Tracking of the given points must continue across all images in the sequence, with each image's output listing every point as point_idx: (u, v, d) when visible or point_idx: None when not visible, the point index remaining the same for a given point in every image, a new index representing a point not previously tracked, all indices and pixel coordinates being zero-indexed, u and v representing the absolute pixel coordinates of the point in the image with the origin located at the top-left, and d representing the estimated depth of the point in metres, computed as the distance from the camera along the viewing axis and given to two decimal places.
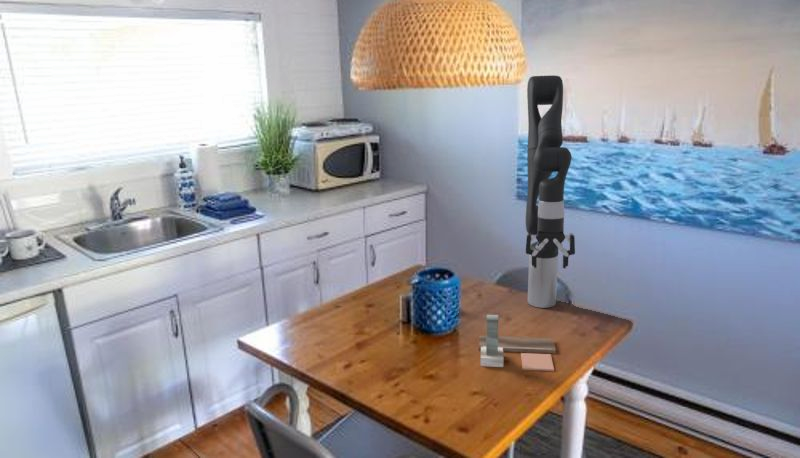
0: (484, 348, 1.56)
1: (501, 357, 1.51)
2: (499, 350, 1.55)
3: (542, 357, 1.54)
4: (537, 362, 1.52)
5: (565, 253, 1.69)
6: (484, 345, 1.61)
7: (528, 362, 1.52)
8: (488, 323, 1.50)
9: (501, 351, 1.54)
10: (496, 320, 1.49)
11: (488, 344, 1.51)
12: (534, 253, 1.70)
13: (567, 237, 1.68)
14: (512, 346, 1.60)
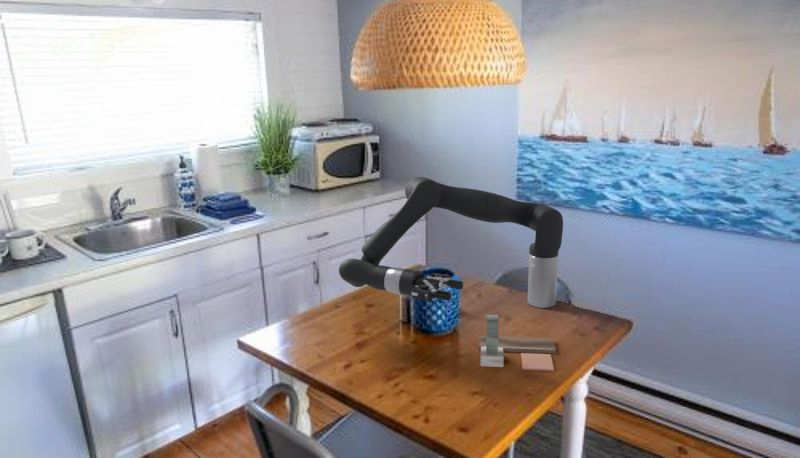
0: (484, 348, 1.56)
1: (501, 357, 1.51)
2: (499, 350, 1.55)
3: (542, 357, 1.54)
4: (537, 362, 1.52)
5: None
6: (484, 345, 1.61)
7: (528, 362, 1.52)
8: (488, 323, 1.50)
9: (501, 351, 1.54)
10: (496, 320, 1.49)
11: (488, 344, 1.51)
12: None
13: None
14: (512, 346, 1.60)
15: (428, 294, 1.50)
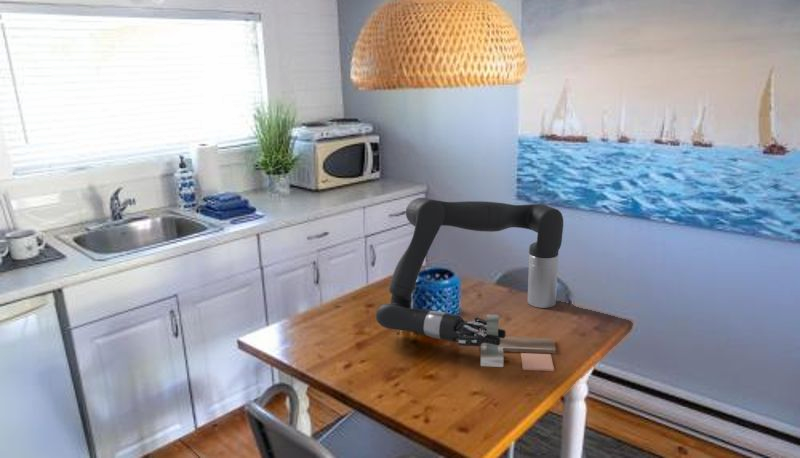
0: (484, 348, 1.56)
1: (501, 357, 1.51)
2: (499, 350, 1.55)
3: (542, 357, 1.54)
4: (537, 362, 1.52)
5: None
6: (484, 345, 1.61)
7: (528, 362, 1.52)
8: (488, 323, 1.50)
9: (501, 351, 1.54)
10: (496, 320, 1.49)
11: (488, 344, 1.51)
12: None
13: None
14: (512, 346, 1.60)
15: (478, 339, 1.49)
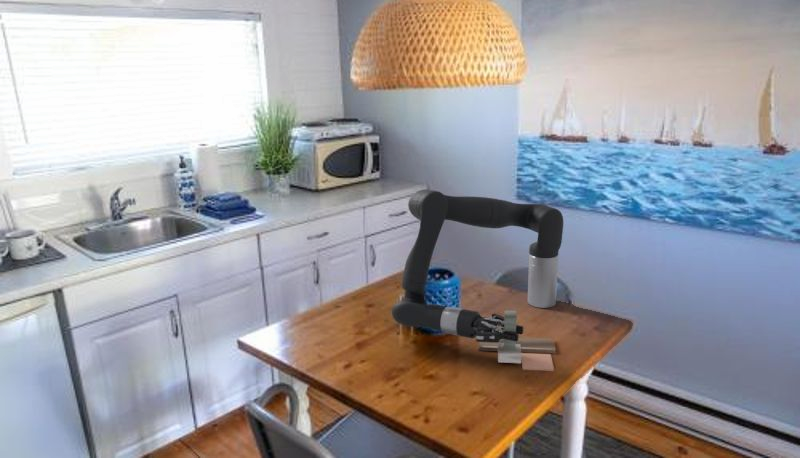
0: (501, 344, 1.55)
1: (519, 353, 1.50)
2: (517, 346, 1.54)
3: (542, 357, 1.54)
4: (537, 362, 1.52)
5: None
6: (484, 345, 1.61)
7: (528, 362, 1.52)
8: (506, 319, 1.49)
9: (519, 347, 1.53)
10: (514, 316, 1.48)
11: (506, 340, 1.50)
12: None
13: None
14: None
15: (496, 335, 1.48)
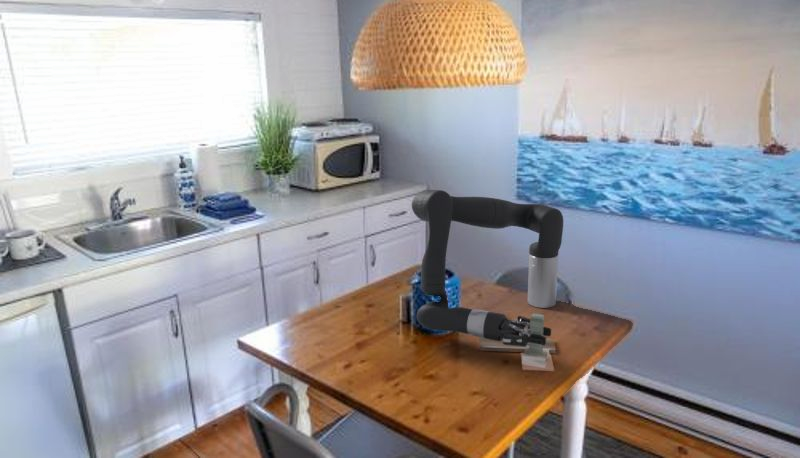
0: None
1: (543, 358, 1.49)
2: (544, 351, 1.52)
3: None
4: None
5: None
6: (484, 345, 1.61)
7: None
8: (531, 322, 1.48)
9: (546, 352, 1.52)
10: (539, 320, 1.47)
11: (531, 343, 1.50)
12: None
13: None
14: (512, 346, 1.60)
15: (524, 339, 1.46)
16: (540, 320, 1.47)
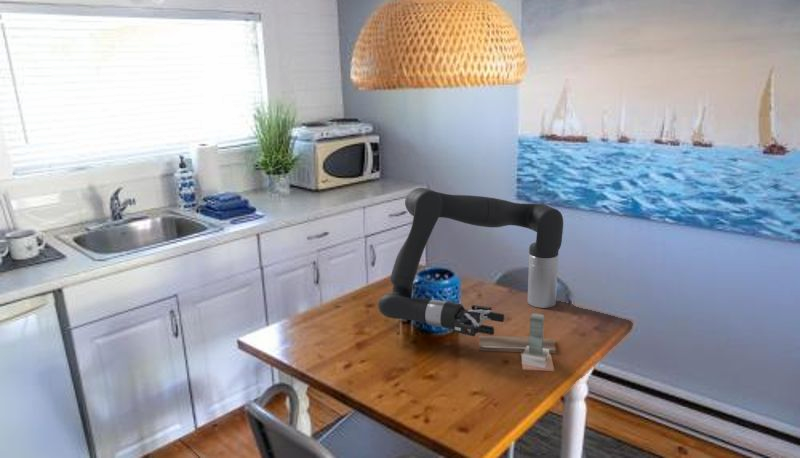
0: None
1: (543, 358, 1.49)
2: (544, 351, 1.52)
3: None
4: None
5: None
6: (484, 345, 1.61)
7: None
8: (531, 322, 1.48)
9: (546, 352, 1.52)
10: (539, 320, 1.47)
11: (531, 343, 1.50)
12: None
13: None
14: (512, 346, 1.60)
15: (472, 329, 1.51)
16: (540, 320, 1.47)
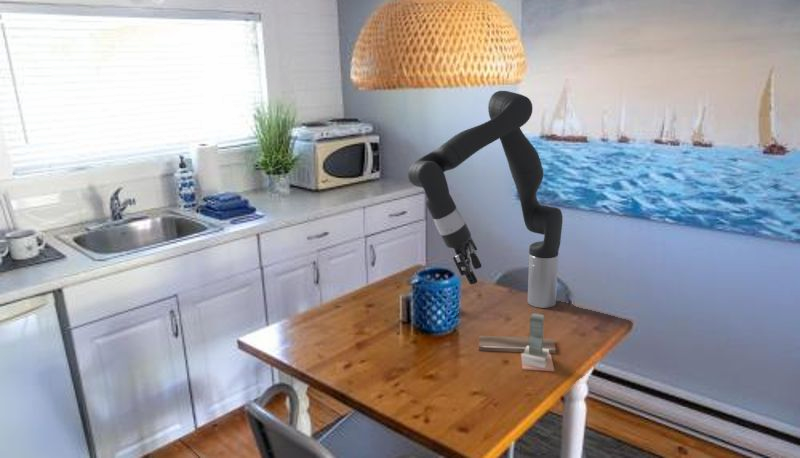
0: None
1: (543, 358, 1.49)
2: (544, 351, 1.52)
3: None
4: None
5: None
6: (484, 345, 1.61)
7: None
8: (531, 322, 1.48)
9: (546, 352, 1.52)
10: (539, 320, 1.47)
11: (531, 343, 1.50)
12: None
13: None
14: (512, 346, 1.60)
15: (467, 272, 1.51)
16: (540, 320, 1.47)
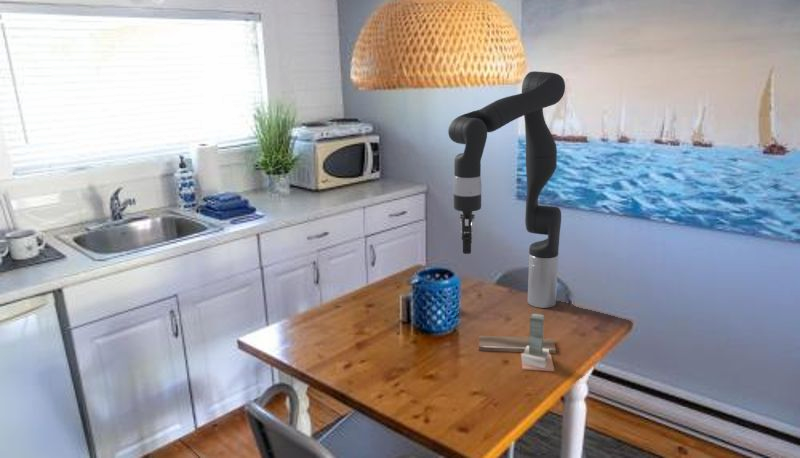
0: None
1: (543, 358, 1.49)
2: (544, 351, 1.52)
3: None
4: None
5: None
6: (484, 345, 1.61)
7: None
8: (531, 322, 1.48)
9: (546, 352, 1.52)
10: (539, 320, 1.47)
11: (531, 343, 1.50)
12: None
13: None
14: (512, 346, 1.60)
15: (469, 238, 1.51)
16: (540, 320, 1.47)
